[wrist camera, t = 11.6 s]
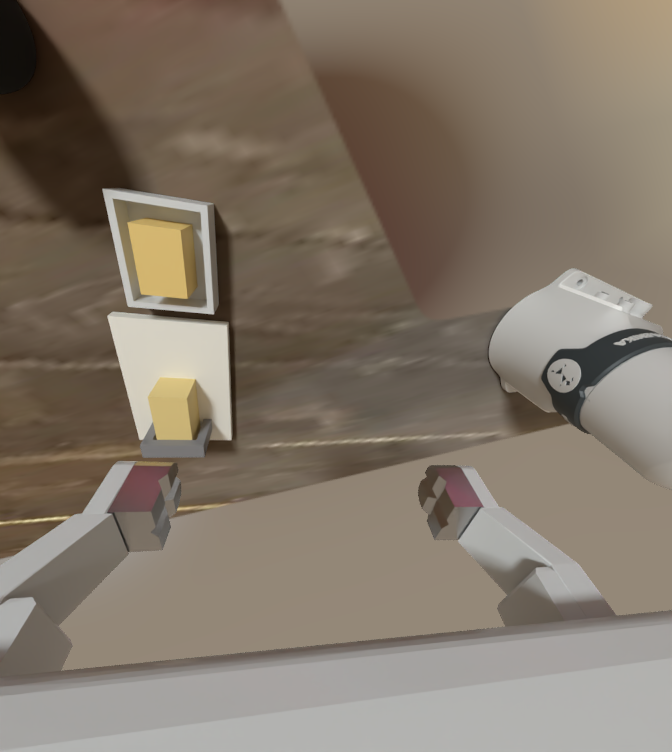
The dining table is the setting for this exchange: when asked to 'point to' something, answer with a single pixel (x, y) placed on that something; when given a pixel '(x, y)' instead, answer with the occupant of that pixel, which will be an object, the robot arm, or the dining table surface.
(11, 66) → the mug
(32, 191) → the dining table surface
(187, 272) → the stub
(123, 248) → the stub tray
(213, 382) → the board
